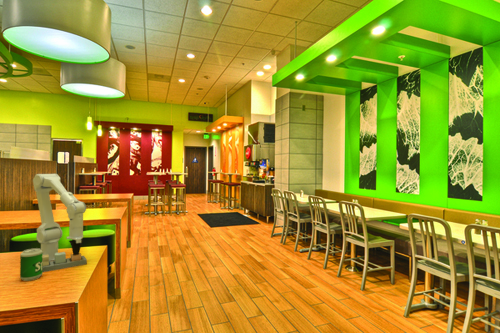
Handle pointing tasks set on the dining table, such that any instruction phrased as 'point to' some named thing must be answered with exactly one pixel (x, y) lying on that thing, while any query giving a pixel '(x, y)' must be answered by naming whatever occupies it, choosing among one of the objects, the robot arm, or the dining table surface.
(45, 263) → the maple key
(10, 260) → the dining table surface
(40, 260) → the soda can
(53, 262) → the button board
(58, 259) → the pale green cube
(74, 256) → the orange brown cube
